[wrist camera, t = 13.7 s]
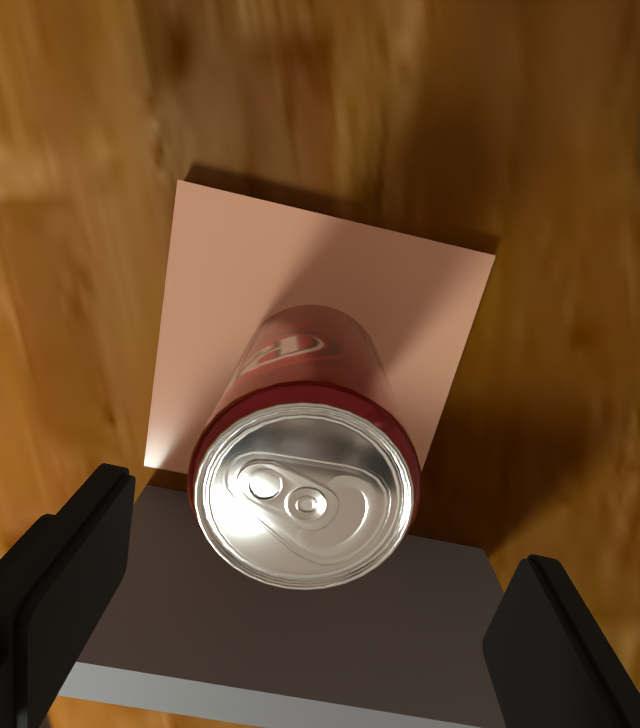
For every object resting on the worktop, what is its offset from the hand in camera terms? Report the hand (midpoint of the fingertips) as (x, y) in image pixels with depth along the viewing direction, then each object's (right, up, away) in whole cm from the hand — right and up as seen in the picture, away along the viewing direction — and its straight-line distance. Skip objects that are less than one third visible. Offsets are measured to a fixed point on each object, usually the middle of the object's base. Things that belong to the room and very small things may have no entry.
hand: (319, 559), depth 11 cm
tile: (-1, +5, +15) cm, 16 cm away
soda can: (0, +5, +14) cm, 15 cm away
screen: (-1, -8, +19) cm, 21 cm away
